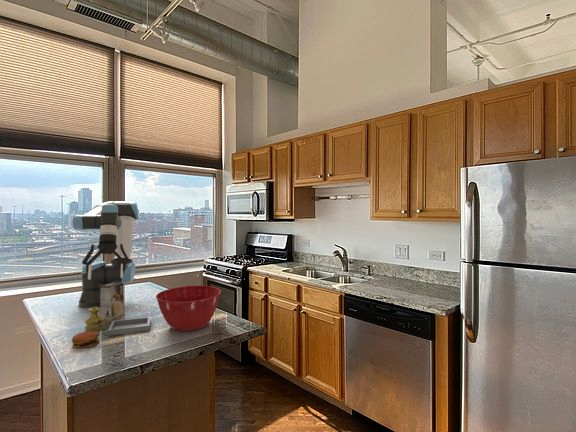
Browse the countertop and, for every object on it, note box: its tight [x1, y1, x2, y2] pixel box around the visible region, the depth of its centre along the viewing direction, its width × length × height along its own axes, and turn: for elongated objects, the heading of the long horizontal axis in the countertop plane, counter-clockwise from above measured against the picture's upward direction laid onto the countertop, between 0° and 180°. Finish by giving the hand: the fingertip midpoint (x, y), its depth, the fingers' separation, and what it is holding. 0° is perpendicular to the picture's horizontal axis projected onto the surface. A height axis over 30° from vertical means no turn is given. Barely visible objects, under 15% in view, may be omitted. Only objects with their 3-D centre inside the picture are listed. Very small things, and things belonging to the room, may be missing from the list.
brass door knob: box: [84, 306, 105, 332], centre depth 150 cm, size 7×7×10 cm
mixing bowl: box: [155, 285, 222, 332], centre depth 153 cm, size 28×28×15 cm
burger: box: [71, 331, 100, 349], centre depth 133 cm, size 10×9×5 cm
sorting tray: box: [107, 316, 151, 337], centre depth 150 cm, size 13×16×2 cm
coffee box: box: [100, 283, 125, 321], centre depth 167 cm, size 9×6×16 cm
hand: (105, 278), depth 160 cm, fingers open, 13 cm apart
